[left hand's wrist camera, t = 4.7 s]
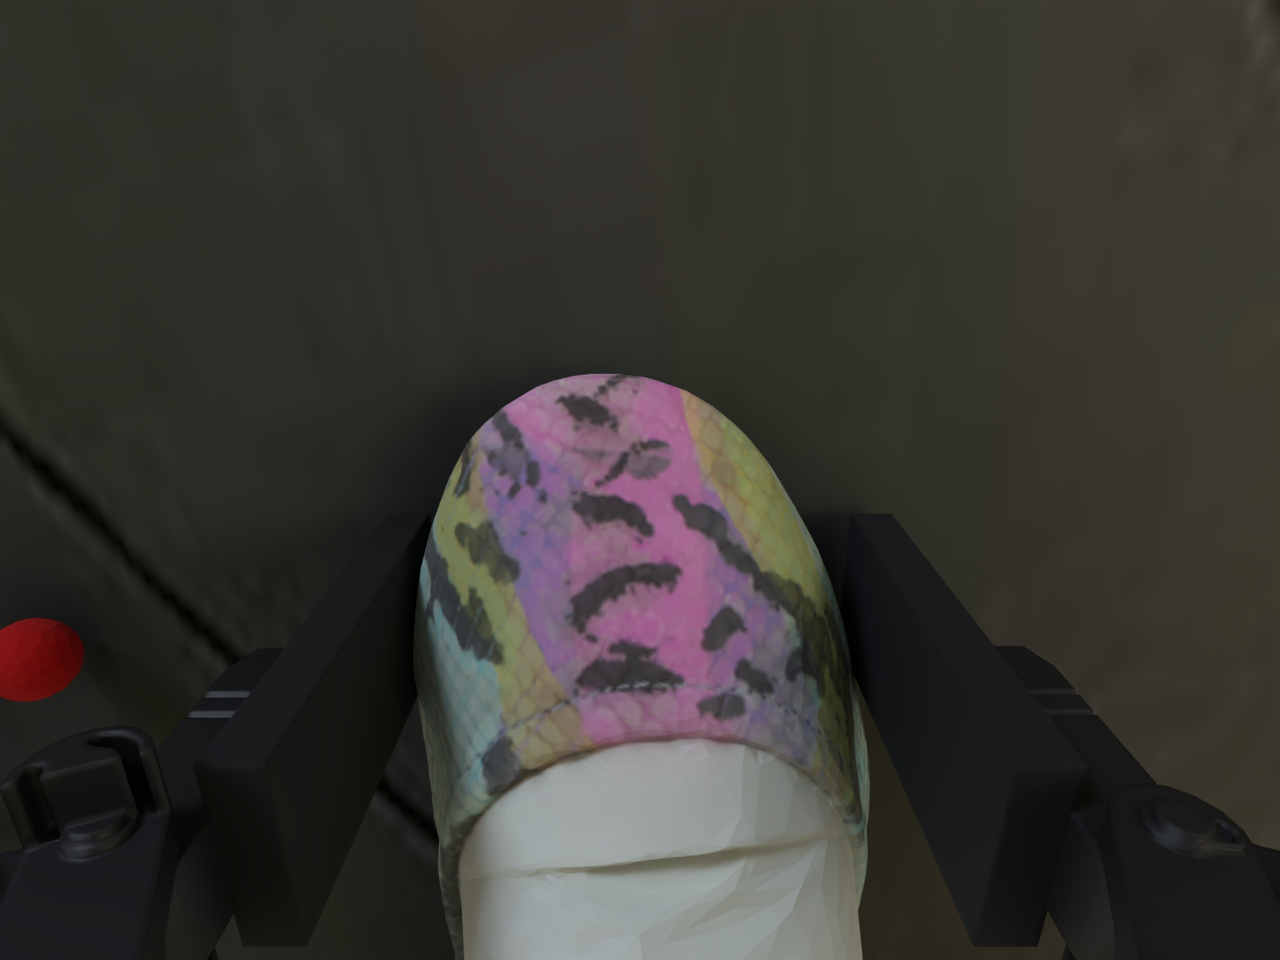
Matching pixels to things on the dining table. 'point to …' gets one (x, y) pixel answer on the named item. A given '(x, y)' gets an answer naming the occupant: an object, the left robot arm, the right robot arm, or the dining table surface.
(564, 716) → the ballet flat
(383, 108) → the dining table surface
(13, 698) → the molecular model
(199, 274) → the dining table surface
